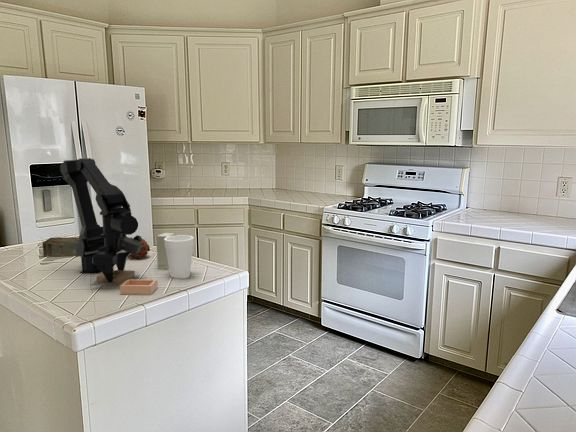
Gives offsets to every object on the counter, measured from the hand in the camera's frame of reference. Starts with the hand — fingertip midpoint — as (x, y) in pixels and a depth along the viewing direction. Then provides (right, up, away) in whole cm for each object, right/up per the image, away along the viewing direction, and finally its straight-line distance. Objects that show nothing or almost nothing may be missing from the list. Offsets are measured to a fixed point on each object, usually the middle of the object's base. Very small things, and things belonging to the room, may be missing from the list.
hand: (116, 277), depth 138 cm
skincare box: (+12, +1, +15) cm, 19 cm away
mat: (0, -1, 0) cm, 1 cm away
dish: (+11, -3, -10) cm, 15 cm away
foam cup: (+19, 0, +6) cm, 20 cm away
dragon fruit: (-4, +4, +29) cm, 29 cm away
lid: (0, -1, 0) cm, 1 cm away
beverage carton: (-31, +4, +33) cm, 46 cm away
